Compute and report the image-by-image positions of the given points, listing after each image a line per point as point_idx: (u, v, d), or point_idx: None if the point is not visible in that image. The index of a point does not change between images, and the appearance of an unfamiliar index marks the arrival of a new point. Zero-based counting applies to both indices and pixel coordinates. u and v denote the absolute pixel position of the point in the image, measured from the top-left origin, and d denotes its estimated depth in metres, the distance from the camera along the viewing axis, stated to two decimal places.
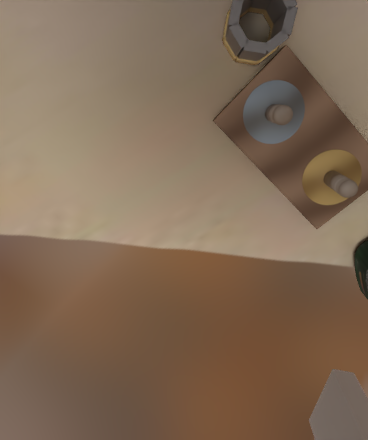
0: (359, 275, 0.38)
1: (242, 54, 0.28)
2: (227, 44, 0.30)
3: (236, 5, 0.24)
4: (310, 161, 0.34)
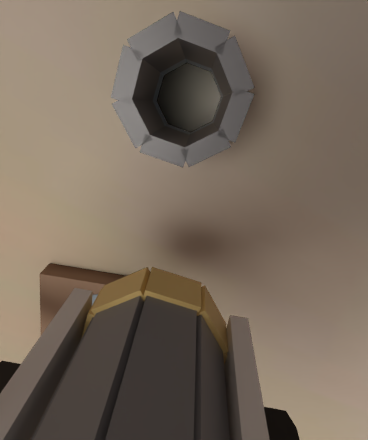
0: None
1: None
2: (87, 326, 0.11)
3: None
4: None
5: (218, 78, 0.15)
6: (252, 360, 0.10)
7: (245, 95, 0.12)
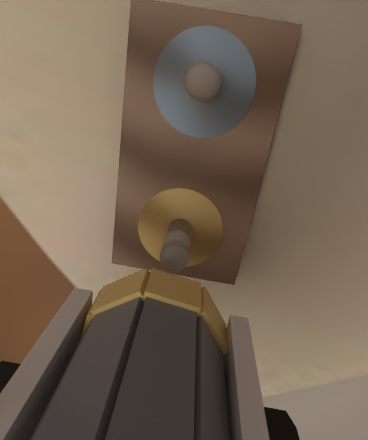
0: None
1: None
2: (86, 327, 0.11)
3: None
4: (180, 188, 0.22)
5: None
6: (252, 360, 0.10)
7: None
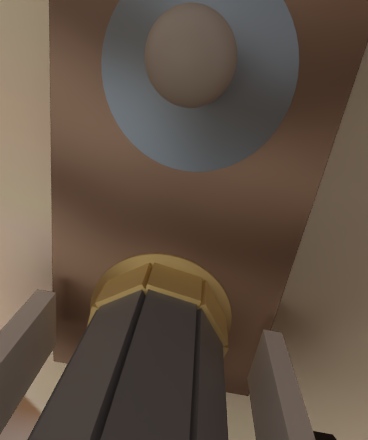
0: None
1: None
2: (91, 318, 0.12)
3: None
4: (158, 253, 0.13)
5: None
6: (293, 379, 0.10)
7: None
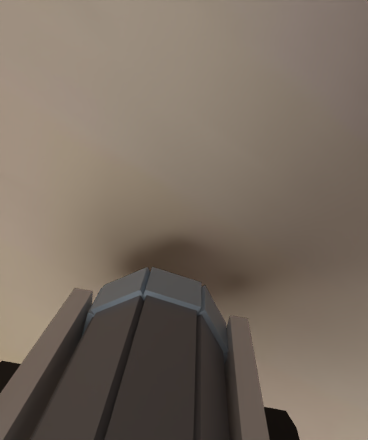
0: None
1: None
2: None
3: None
4: None
5: None
6: (252, 360, 0.10)
7: None
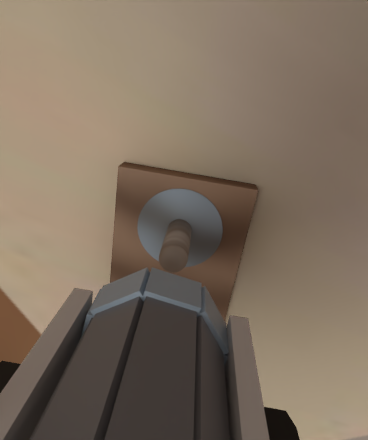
0: None
1: None
2: None
3: None
4: None
5: None
6: (252, 360, 0.10)
7: None
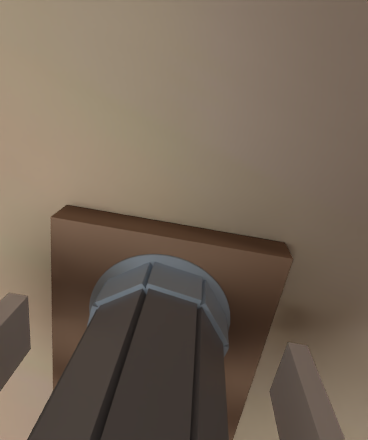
0: None
1: None
2: None
3: None
4: None
5: None
6: (325, 397, 0.10)
7: None
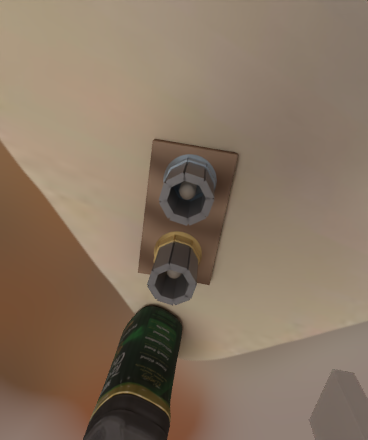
0: (130, 322, 0.44)
1: None
2: (157, 251, 0.38)
3: (165, 267, 0.33)
4: (177, 231, 0.39)
5: None
6: None
7: (211, 200, 0.30)
